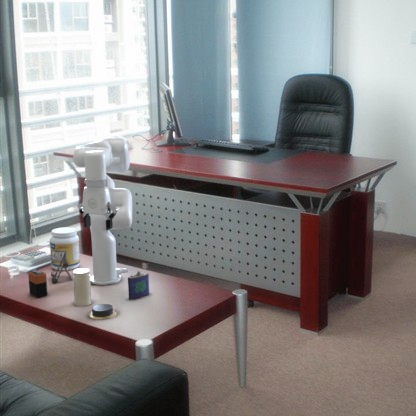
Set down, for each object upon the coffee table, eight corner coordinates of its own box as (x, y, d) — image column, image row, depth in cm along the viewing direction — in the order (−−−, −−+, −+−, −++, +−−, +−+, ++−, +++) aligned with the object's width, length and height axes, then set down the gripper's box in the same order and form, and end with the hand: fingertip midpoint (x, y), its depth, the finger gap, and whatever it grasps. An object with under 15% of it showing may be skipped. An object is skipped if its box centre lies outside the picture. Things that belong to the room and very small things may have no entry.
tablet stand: (50, 277, 284) (49, 258, 282) (70, 275, 287) (69, 256, 285) (52, 283, 276) (51, 264, 274) (72, 281, 279) (71, 262, 277)
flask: (147, 293, 268) (146, 267, 266) (151, 294, 266) (150, 269, 264) (127, 298, 262) (126, 272, 259) (131, 300, 260) (130, 274, 257)
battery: (37, 298, 260) (35, 273, 258) (29, 293, 265) (27, 269, 262) (48, 295, 263) (46, 271, 261) (39, 291, 268) (38, 267, 266)
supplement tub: (46, 270, 293) (43, 232, 289) (60, 261, 305) (57, 225, 301) (72, 272, 291) (69, 234, 287) (85, 263, 303) (83, 227, 299)
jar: (87, 299, 261) (85, 267, 258) (94, 303, 256) (92, 271, 253) (72, 302, 257) (70, 270, 254) (78, 307, 252) (76, 274, 249)
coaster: (109, 307, 253) (109, 306, 253) (121, 315, 246) (121, 314, 245) (83, 313, 246) (83, 312, 246) (95, 321, 239) (95, 320, 239)
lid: (97, 318, 241) (97, 312, 240) (89, 312, 246) (88, 306, 246) (116, 313, 246) (116, 308, 245) (107, 308, 251) (107, 302, 250)
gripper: (70, 183, 251) (73, 227, 255) (110, 187, 246) (112, 232, 250) (83, 180, 258) (85, 223, 262) (121, 184, 253) (123, 228, 257)
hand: (98, 227), depth 256 cm, fingers open, 9 cm apart
